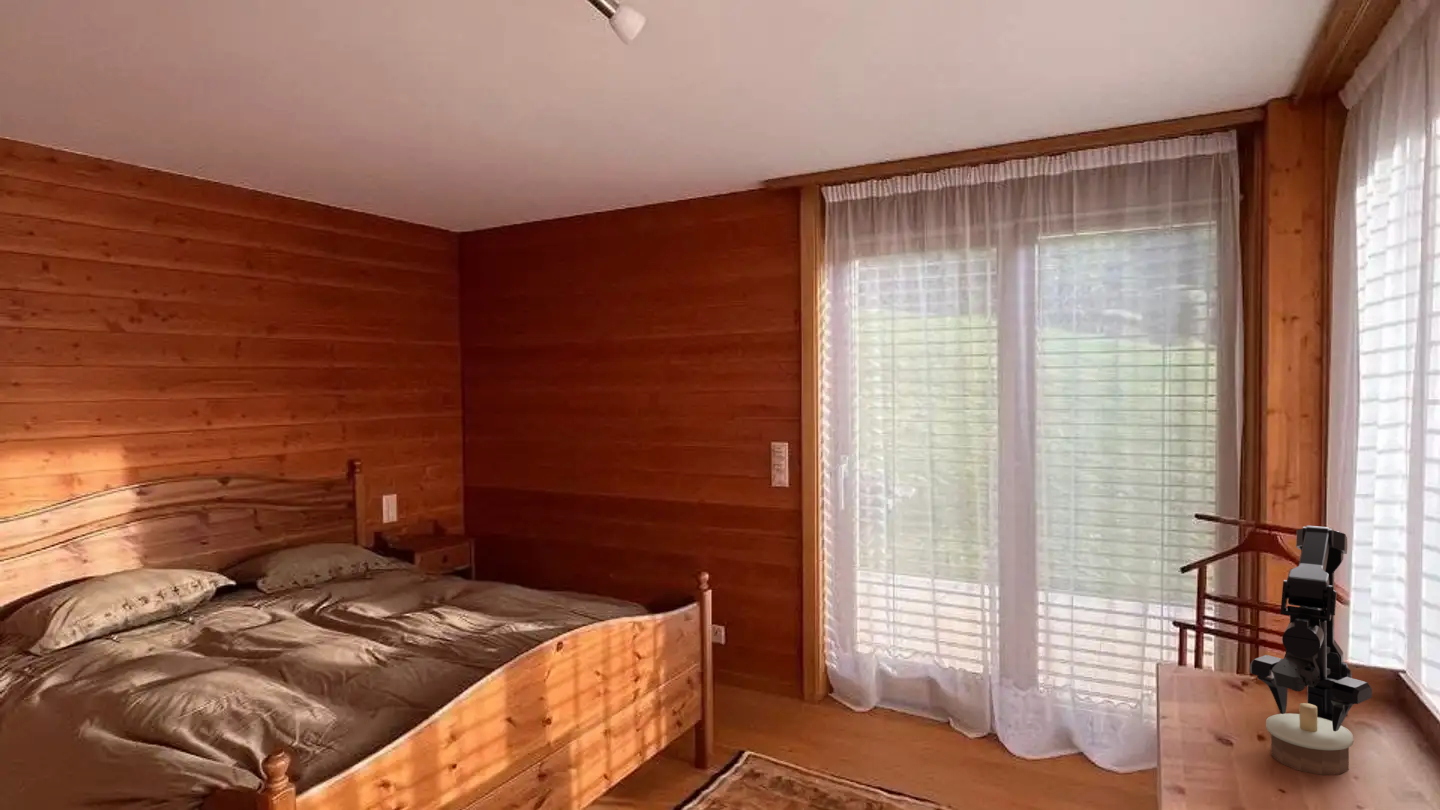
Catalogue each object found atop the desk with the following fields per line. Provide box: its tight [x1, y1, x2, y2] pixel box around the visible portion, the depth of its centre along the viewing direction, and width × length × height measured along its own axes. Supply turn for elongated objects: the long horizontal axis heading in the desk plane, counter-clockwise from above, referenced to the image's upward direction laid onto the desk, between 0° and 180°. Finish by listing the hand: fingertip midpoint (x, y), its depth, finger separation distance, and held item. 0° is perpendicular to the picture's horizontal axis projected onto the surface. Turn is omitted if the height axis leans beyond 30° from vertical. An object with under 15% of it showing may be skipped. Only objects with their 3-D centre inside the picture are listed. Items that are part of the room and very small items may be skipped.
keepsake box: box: [1270, 733, 1350, 776], centre depth 161 cm, size 12×12×5 cm
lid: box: [1265, 702, 1354, 750], centre depth 161 cm, size 14×14×7 cm
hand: (1308, 721), depth 161 cm, fingers open, 9 cm apart
